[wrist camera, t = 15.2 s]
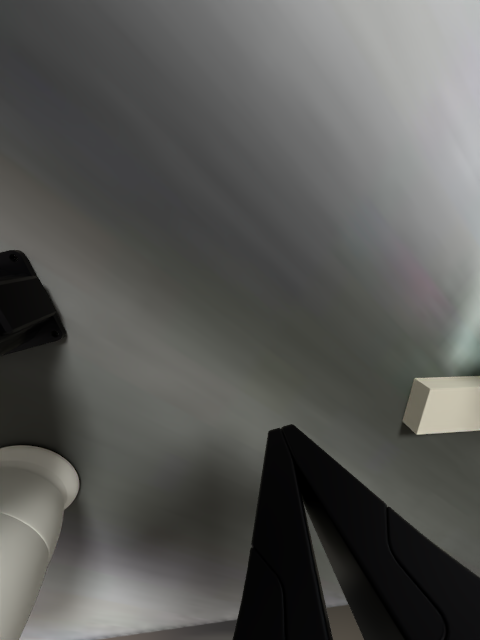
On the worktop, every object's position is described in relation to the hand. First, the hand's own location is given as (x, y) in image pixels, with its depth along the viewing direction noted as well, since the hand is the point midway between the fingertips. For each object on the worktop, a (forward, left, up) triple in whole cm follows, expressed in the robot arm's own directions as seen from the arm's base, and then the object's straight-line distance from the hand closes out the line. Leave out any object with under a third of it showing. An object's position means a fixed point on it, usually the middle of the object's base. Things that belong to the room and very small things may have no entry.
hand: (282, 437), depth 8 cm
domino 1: (+14, -13, -11) cm, 22 cm away
